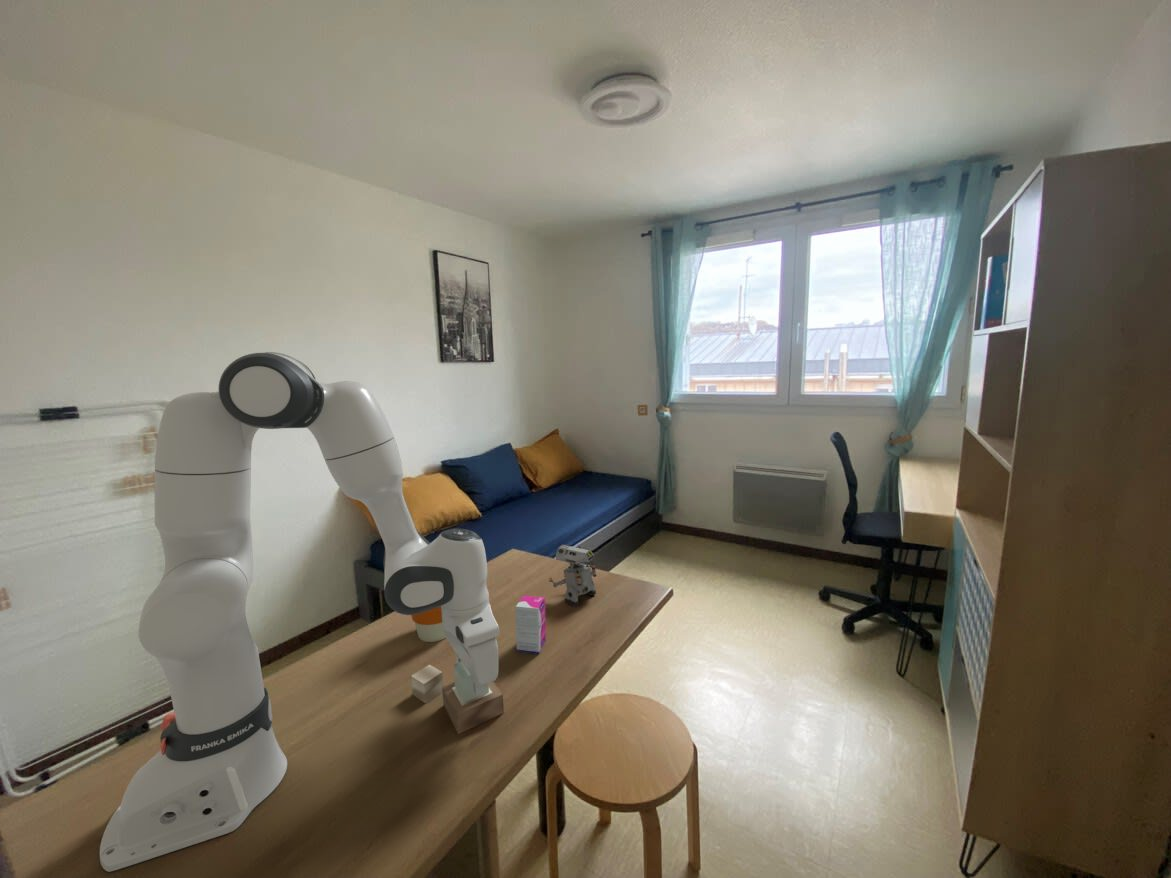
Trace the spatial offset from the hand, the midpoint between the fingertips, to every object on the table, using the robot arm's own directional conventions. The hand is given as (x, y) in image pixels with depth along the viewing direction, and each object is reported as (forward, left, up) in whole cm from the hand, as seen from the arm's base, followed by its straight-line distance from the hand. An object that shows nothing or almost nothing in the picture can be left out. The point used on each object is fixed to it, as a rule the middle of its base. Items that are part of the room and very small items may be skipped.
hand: (470, 679), depth 91 cm
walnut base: (0, 0, -6) cm, 6 cm away
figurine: (+40, +26, -7) cm, 48 cm away
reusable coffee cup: (+2, +32, -7) cm, 33 cm away
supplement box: (+19, +12, -7) cm, 23 cm away
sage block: (0, 0, -2) cm, 2 cm away
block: (-6, +10, -7) cm, 13 cm away
